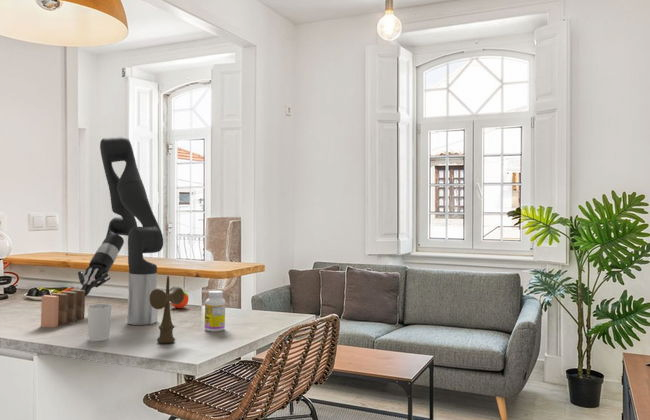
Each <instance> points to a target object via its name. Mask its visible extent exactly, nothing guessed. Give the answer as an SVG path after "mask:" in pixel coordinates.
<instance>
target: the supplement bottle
mask: <svg viewBox="0 0 650 420" xmlns="http://www.w3.org/2000/svg"><path fill="white" fill-rule="evenodd" d="M207 294H208V298H207V299H206V300H205V302H204V330H205V331H206V332H210V331H211V332H213V333H214V332H215V333H216V332H217V333H218V332H222V331H224V330H225V328H226V300H225V298H223V295H224V292H223V290H209V291H208V293H207Z"/></svg>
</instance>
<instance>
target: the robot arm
mask: <svg viewBox="0 0 650 420" xmlns="http://www.w3.org/2000/svg"><path fill="white" fill-rule="evenodd" d="M99 149H100V157H101V160H102V165H103V170H104V174H105V177H106V181H107V185H108V190H109V197H110V204H111V212H113V214H116V215H119V216H120V217H119V216H117V217H114V218H112V219H111V220H110V221H109V222H108V226H107V232H106V235H105V238H104V240H103V241H102V243H101V244H100V246H99V247H98V248H97V250H96V252H95V253H94V255H93V256H92V258H91V259H90V261H89V266H88V267H87V268H85V270H84V271H78V272H77V275H78V280H79V283H80V284H81V288H80V290H85V297H87V295H89V293H90V292H91V290H92V289H93V288H99V287H100V286H102V285H104V284H105V283H106V282H108V281H109V280H110V279H111V276H110V274H108V273H109V272H110V270H111V269H112V266H113V265H114V263H115V262H116V259H117V257H118V255H119V252H120V251H121V249H122V247H123V246H124V243H125V239H124V238H123V237H122V236H127V256H128V257H127V263H128V264H127V265H128V286H127V287H128V289H127V291H128V294H127V295H128V296H127V322H126V323H127V324H129V325H132V326H133V325H134V326H146V325H153V324H154V323H157V322H158V315H159V314H158V313H159V309H155V308H153V307H152V306H151V304H150V294H151V292H152V291H153V290H154V289H157V287H158V286H157V285H158V279H157V278H158V274H157V273H158V265H156V263H152V262H149V261H148V260H146V259H144V254H155V253H160V252H161V251H162V249H163V247H164V235H163V232H162V229H161V228H160V225H159V222H158V220H157V218H156V216H155V214H154V212H153V210H152V207H151V205H150V201H149V199H148V198H149V197H148V195H147V191H146V189H145V186H144V183H143V180H142V177H141V175H140V173H139V170H138V165H137V162H136V158H135V154H134V150H133V146H132V143H131V141H130V139H129V138H128V137H127V136H116V137H103V138H102V139H101V140H100V143H99ZM117 162H125V166H124V170H123V172H122V174H121V175H120V177H119V176H118V175H117V173H116V171H115V169H114V167H113V163H117ZM137 220H138V221H139V223H141V226H138V222H137Z"/></svg>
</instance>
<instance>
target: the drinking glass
mask: <svg viewBox="0 0 650 420" xmlns="http://www.w3.org/2000/svg"><path fill="white" fill-rule="evenodd" d="M111 315H112V304H109V303H95V304H93V303H92V304H89V305H87V332H88V333H87V334H88V335H87V340H88V341H90V342H102V341H108V340H109V339H110V329H111V317H112V316H111Z"/></svg>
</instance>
